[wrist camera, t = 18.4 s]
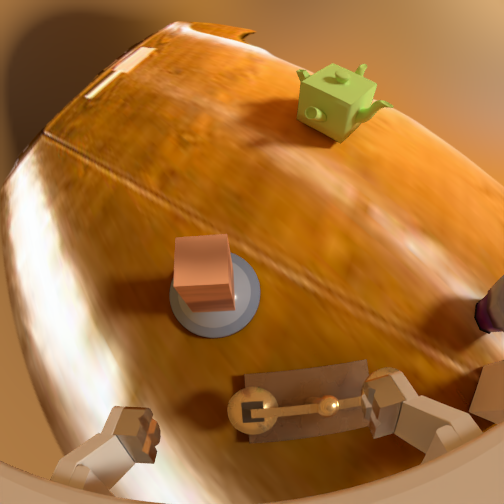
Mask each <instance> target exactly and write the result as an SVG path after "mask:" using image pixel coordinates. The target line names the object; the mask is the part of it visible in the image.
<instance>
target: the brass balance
mask: <svg viewBox="0 0 504 504" xmlns="http://www.w3.org/2000/svg"><path fill="white" fill-rule="evenodd" d="M398 371H399V370H397V369H394V368H382V369H378V370H376V371H374V372H373V373H371V374H370V375H369V374H368V366H367V359H366V360H361V361H355V362H349V363H343V364H337V365H330V366H323V367H315V368H308V369H299V370H290V371H281V372H270V373H257V374H244V377H245V388H244V389H241V390H239V391H238V392H236V393H235V394H234V395H233V396H232V398H231V399H230V401H229V404H228V409H227V413H228V418H229V420H230V422H231V424H232V425H233V426H234V427H235V428H236V429H237V430H239V431H241V432H243V433H245V434H249V442H250V443H262V442H274V441H284V440H293V439H301V438H308V437H315V436H321V435H327V434H333V433H338V432H343V431H348V430H353V429H358V428H362V427H366V426H369V420H367V419H365V417H364V415H363V412H362V407H361V397H362V396H363V394H364V391H363V389H362V388H363V383H364V381H367V380H370V379H374V378H378V377H381V376H385V375H388V374H391V373H394V372H398Z"/></svg>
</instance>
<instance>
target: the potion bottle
mask: <svg viewBox="0 0 504 504" xmlns="http://www.w3.org/2000/svg"><path fill="white" fill-rule="evenodd" d="M474 318H475V320H476V322H477V324H478V327H479V329H480V330H481V331H483V332H486V333H488V334H490V333H491V332H499V331H503V332H504V275H503V276H502V277H501V278H500V279H499V280H498V281H497V282H496V283H495V284H494V285H493V286H492V288H491V289H490V290H489V291H488V294H487V295H486V296H485V297H484V298H483V299H482V300H480V301H479V302H478V303H477V304H476V308H475V317H474Z"/></svg>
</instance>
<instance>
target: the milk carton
mask: <svg viewBox="0 0 504 504" xmlns="http://www.w3.org/2000/svg"><path fill="white" fill-rule="evenodd" d="M469 412H470V413H472V414H475V415H477V416H479V417H482V418H484V419H486V420H489V421H491V422H494V423H497V424H499V423H501V422H502V421H504V360H502V361H499V362H495V363H491V364H488V365H484V366H483V369H482V372H481V376H480V379H479V382H478V385H477V388H476V391H475V394H474V397H473V400H472V403H471V406H470V408H469Z"/></svg>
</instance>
